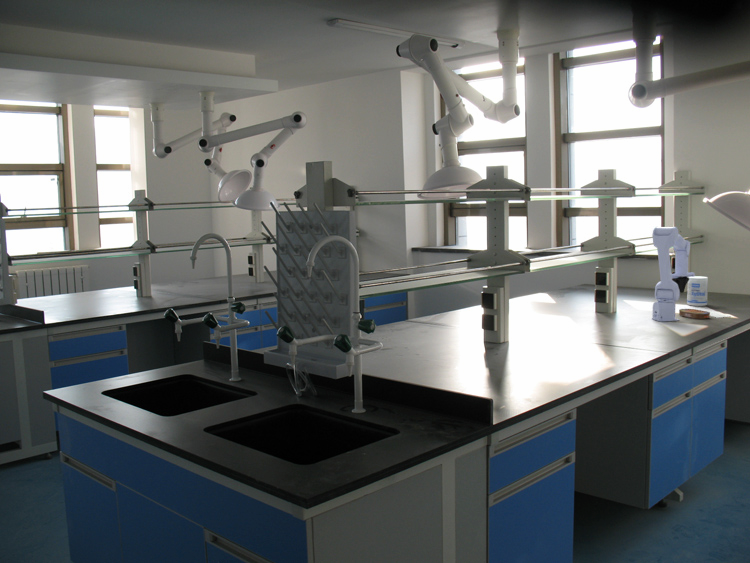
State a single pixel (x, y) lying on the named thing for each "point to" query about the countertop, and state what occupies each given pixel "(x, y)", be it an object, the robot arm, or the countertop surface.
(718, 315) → the mat
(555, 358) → the countertop surface
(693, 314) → the tin
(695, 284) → the supplement tub
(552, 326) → the countertop surface
